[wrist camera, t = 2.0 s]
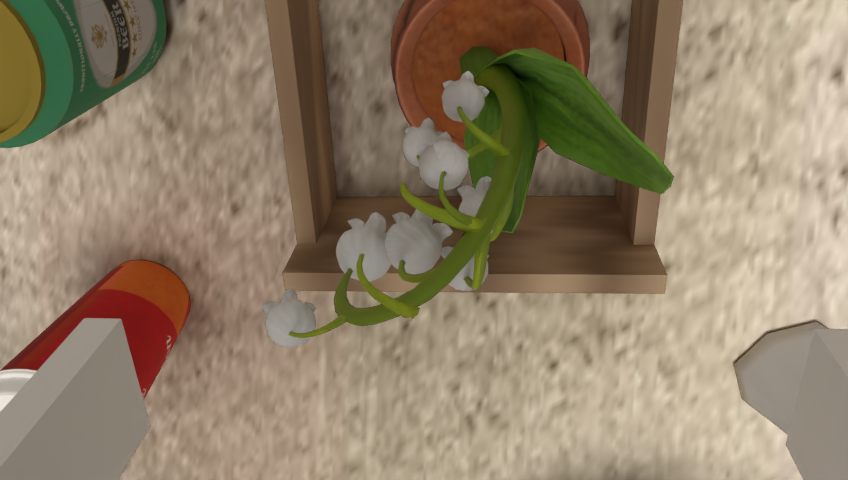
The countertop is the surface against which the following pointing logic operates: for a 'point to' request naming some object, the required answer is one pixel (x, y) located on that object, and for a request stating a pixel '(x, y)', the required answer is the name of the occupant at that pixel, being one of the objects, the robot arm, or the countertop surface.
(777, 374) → the flask
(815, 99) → the countertop surface
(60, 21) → the beverage can
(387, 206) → the frame
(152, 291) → the paper cup
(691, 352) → the countertop surface
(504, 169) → the potted flower
